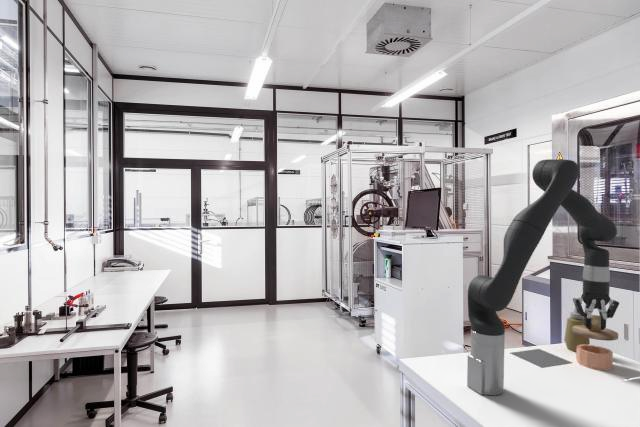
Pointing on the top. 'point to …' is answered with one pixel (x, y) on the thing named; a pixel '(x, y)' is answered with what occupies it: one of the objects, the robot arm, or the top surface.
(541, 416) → the top surface
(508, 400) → the top surface
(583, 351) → the bowl
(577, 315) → the squeeze bottle
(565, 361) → the mat
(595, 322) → the lid
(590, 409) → the top surface
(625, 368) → the top surface
